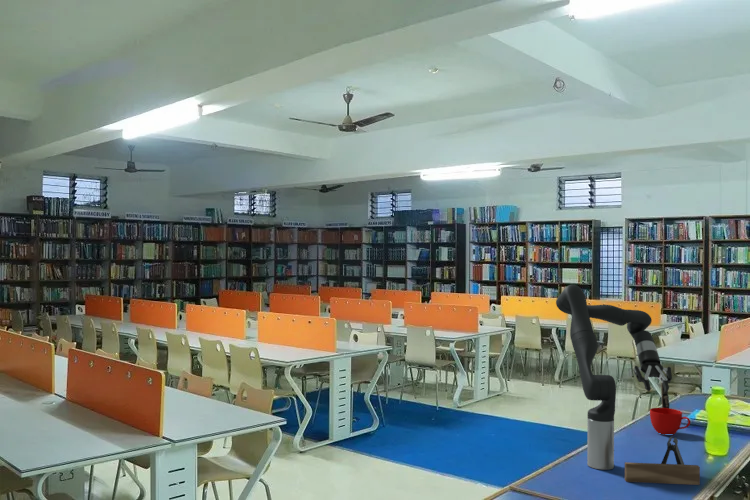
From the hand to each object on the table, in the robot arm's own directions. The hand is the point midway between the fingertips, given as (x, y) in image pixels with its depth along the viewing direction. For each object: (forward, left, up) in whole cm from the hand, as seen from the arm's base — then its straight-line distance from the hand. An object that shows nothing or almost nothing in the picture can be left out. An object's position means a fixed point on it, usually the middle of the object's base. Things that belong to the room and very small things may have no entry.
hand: (657, 390), depth 246 cm
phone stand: (+15, 0, -27) cm, 31 cm away
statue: (-64, +26, -26) cm, 74 cm away
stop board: (+27, -8, -26) cm, 38 cm away
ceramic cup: (-39, +18, -26) cm, 50 cm away
